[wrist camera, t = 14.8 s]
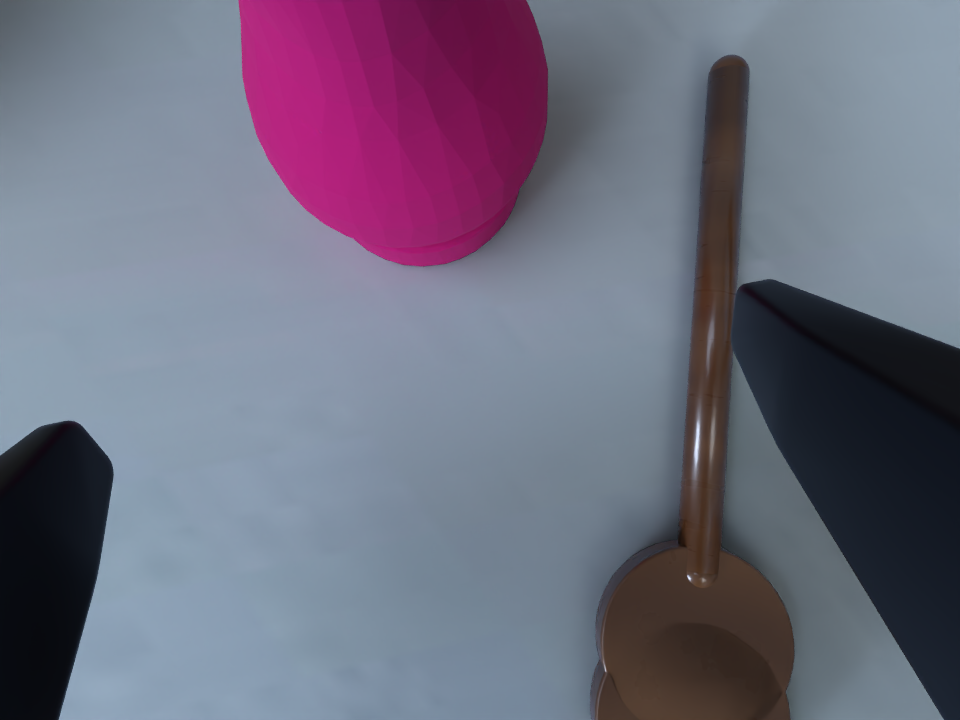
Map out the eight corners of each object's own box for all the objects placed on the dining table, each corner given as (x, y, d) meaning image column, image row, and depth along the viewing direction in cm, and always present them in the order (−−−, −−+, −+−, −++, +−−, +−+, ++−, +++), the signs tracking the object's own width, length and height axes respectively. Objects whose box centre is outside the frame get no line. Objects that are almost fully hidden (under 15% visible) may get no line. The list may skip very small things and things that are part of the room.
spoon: (770, 812, 17) (790, 840, 16) (581, 788, 18) (588, 816, 16) (807, 75, 19) (828, 53, 18) (638, 62, 20) (647, 39, 18)
